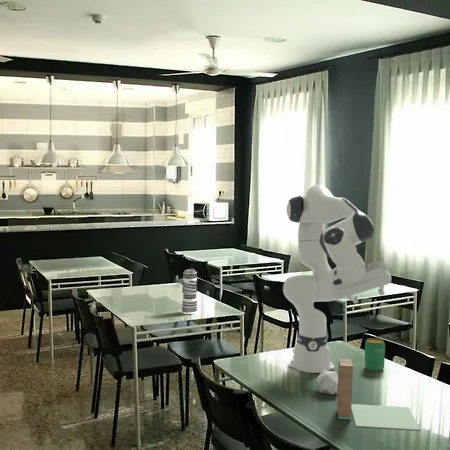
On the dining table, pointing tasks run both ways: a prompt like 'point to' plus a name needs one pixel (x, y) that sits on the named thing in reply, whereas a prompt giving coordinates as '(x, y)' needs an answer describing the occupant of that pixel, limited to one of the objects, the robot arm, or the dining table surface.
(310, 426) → the dining table surface
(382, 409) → the green mat
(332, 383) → the die
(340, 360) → the walnut block
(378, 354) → the beverage can
